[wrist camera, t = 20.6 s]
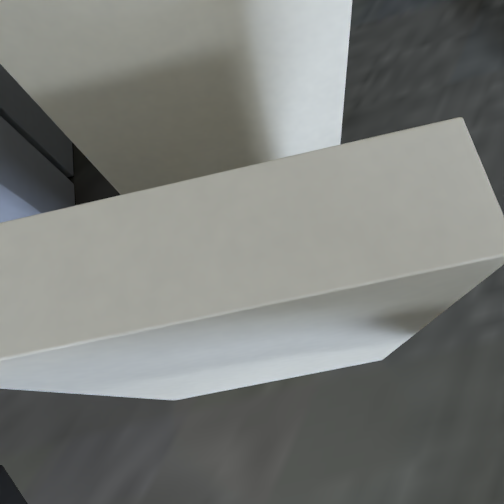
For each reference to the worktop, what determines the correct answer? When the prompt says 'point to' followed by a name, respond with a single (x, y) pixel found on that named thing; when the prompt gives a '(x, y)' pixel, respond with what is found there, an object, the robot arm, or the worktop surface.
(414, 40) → the worktop surface
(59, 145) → the grey books
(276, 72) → the white books
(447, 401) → the worktop surface
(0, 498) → the robot arm
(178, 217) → the thin white book
